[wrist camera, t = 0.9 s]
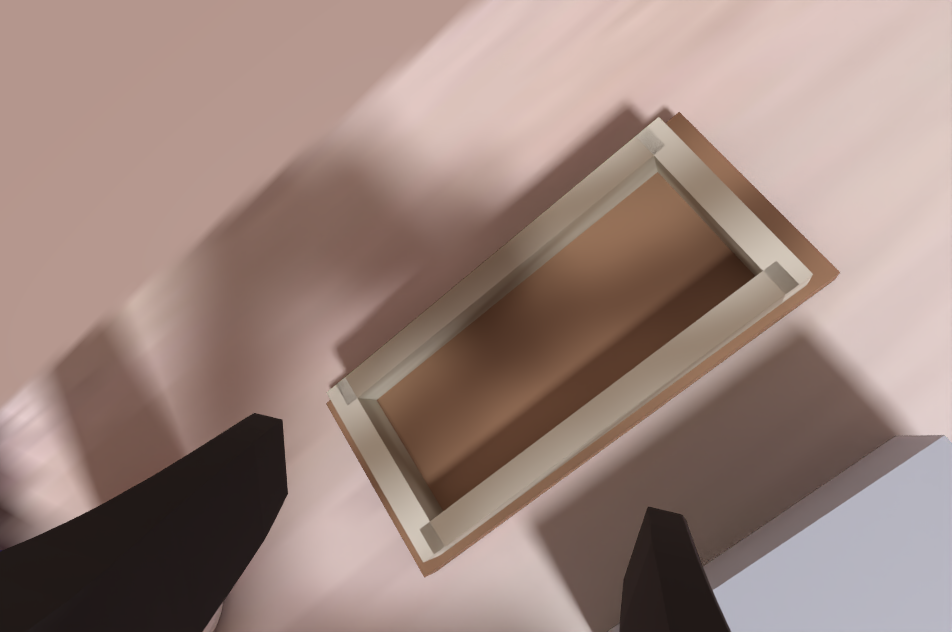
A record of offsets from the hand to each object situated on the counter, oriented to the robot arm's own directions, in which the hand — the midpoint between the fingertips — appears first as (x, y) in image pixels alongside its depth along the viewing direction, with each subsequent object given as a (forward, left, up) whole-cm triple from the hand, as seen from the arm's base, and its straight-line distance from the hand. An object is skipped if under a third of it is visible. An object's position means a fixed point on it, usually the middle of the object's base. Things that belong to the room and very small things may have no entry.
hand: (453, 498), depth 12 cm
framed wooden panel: (+4, -2, -12) cm, 13 cm away
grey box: (-7, -3, -12) cm, 15 cm away
